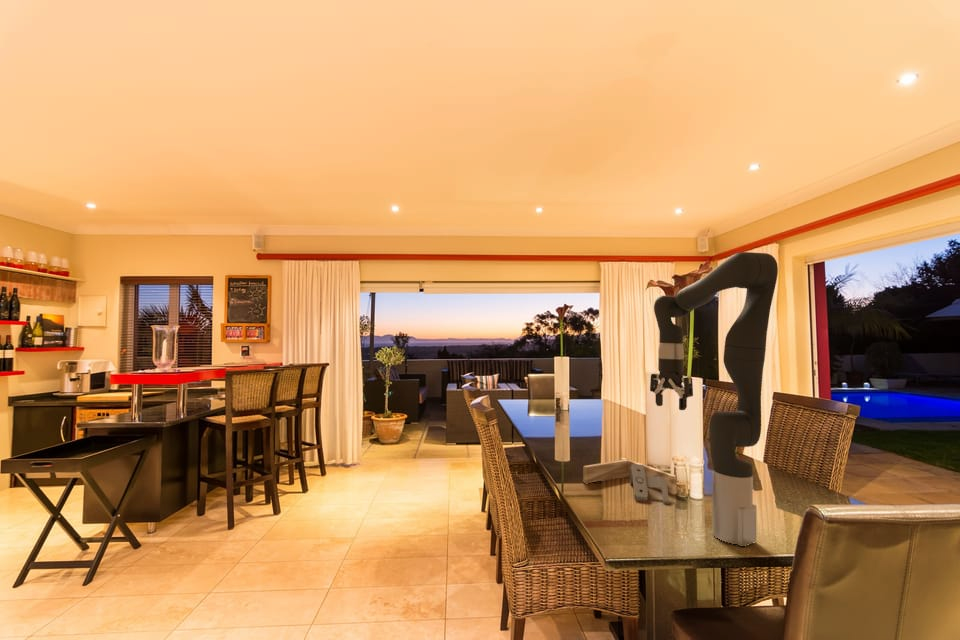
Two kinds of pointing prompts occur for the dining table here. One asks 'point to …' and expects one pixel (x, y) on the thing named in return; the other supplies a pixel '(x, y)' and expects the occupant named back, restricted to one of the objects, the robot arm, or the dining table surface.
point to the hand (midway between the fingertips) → (670, 407)
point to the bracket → (646, 484)
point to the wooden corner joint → (624, 472)
